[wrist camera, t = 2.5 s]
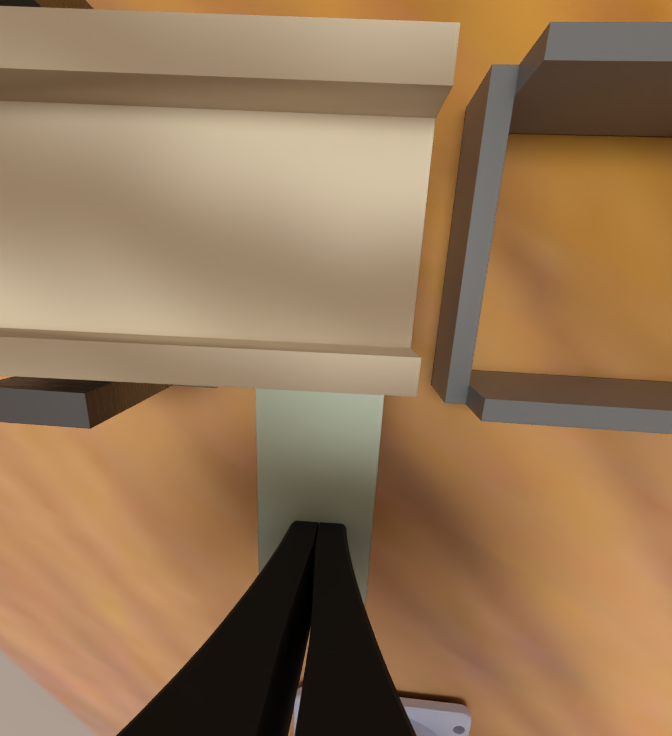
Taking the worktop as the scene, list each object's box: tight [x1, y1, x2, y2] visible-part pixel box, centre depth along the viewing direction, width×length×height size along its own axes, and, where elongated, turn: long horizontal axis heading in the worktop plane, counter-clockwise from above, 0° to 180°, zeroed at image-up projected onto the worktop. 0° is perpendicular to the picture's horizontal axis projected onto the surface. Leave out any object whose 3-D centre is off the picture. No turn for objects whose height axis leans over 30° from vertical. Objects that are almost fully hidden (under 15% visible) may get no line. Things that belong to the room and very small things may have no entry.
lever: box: [0, 6, 460, 606], centre depth 7 cm, size 13×16×2 cm
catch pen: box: [431, 22, 672, 434], centre depth 8 cm, size 8×9×4 cm
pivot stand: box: [0, 0, 217, 429], centre depth 8 cm, size 9×4×5 cm, turn 177°
